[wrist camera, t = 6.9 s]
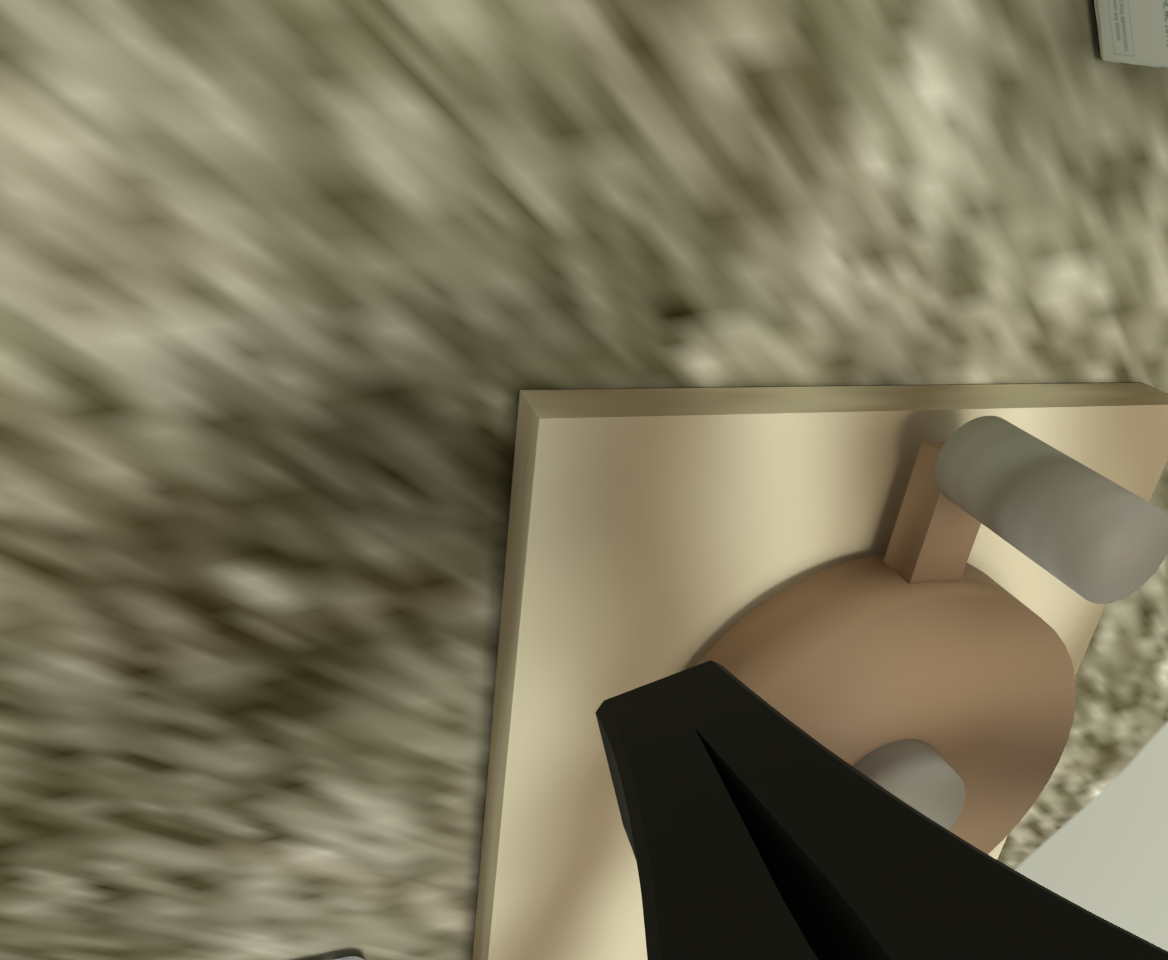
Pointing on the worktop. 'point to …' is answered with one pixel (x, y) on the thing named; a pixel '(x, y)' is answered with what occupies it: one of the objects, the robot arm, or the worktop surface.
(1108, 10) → the syrup box
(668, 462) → the wooden cutting board
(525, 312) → the worktop surface
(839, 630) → the crank dial
